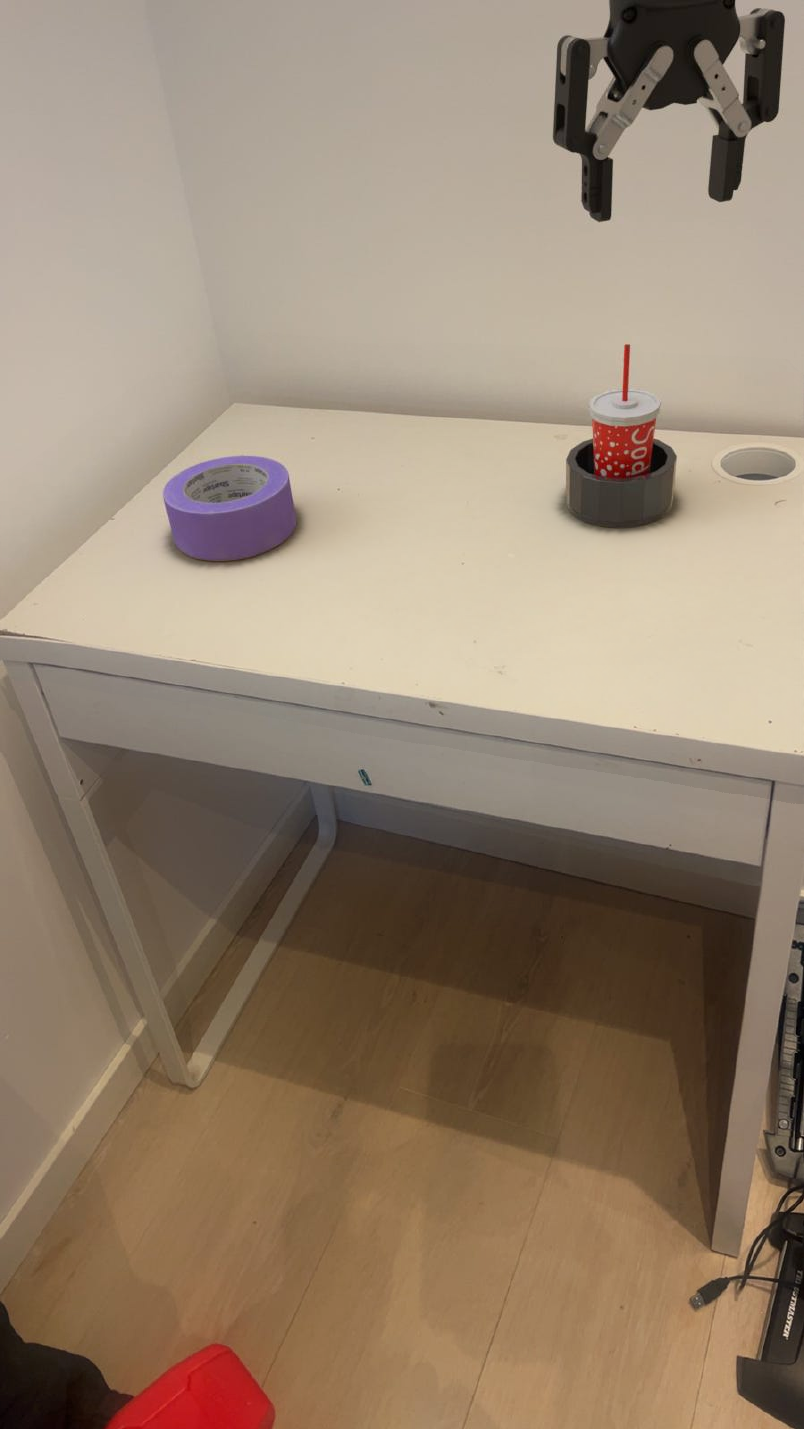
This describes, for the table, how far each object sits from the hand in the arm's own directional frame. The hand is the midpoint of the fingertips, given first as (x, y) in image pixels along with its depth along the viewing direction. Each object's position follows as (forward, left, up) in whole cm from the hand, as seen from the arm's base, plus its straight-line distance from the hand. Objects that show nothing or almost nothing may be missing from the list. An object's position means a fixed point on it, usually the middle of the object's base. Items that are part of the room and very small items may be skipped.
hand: (660, 209), depth 69 cm
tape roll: (+35, -15, -28) cm, 47 cm away
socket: (-1, -12, -28) cm, 31 cm away
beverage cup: (-1, -12, -28) cm, 30 cm away
